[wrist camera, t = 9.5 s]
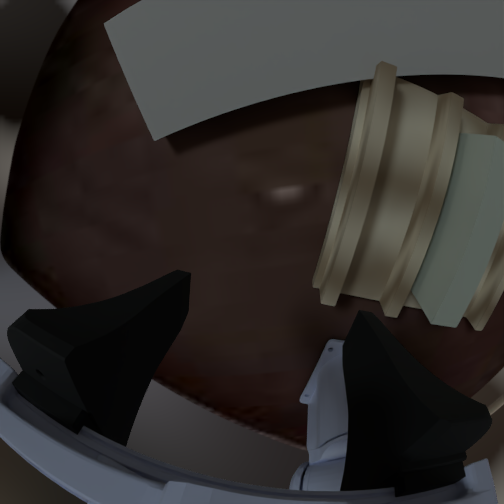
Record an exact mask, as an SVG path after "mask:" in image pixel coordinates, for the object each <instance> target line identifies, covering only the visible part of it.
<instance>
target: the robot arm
mask: <svg viewBox="0 0 504 504" xmlns="http://www.w3.org/2000/svg"><path fill="white" fill-rule="evenodd" d="M190 280H191V273H189V272H185V271H181V270H176V271H173V272H171V273H169V274H167V275H165V276H163V277H161V278H159V279H157V280H154V281H152V282H150V283H148V284H146V285H144V286H142V287H139V288H137V289H134V290H132V291H130V292H127V293H125V294H122V295H119V296H117V297H114V298H110V299H107V300H104V301H100V302H96V303H91V304H86V305H82V306H76V307H69V308H60V309H29V310H27V311H26V312H25V313H24V314H23V315H22V316H21V317H20V318H18V319H17V320H16V321H15V322H14V323H13V324H12V325H11V326H9V327H8V331H7V336H8V341H9V343H10V346H11V348H12V350H13V352H14V354H15V356H16V358H17V360H18V362H19V364H20V366H21V368H22V370H23V371H22V372H21V373H20V374H19V375H18V374H17V373H16V372H15V370H14V369H13V368H12V367H10V366H9V365H8V364H7V363H6V362H5V361H3V360H2V359H1V358H0V437H1V438H2V439H3V440H4V441H5V442H6V443H7V444H8V445H9V446H10V447H11V448H12V449H14V450H15V451H16V452H17V453H18V454H19V455H20V456H22V457H23V458H24V459H25V460H26V461H28V462H29V463H30V464H31V465H32V466H34V467H35V468H36V469H38V470H39V471H40V472H41V473H43V474H44V475H46V476H47V477H48V478H49V479H51V480H52V481H54V482H55V483H57V484H58V485H60V486H61V487H63V488H64V489H66V490H67V491H69V492H70V493H72V494H74V495H75V496H77V497H78V498H80V499H82V500H83V501H85V502H87V504H497V503H498V501H497V496H496V491H495V486H494V482H493V478H492V474H491V470H490V467H489V463H488V460H487V459H483V460H480V461H477V462H474V463H471V464H469V465H467V466H465V467H464V466H463V462H462V461H464V460H466V458H467V456H466V452H465V451H466V450H467V449H469V448H470V447H471V446H472V445H473V444H475V443H476V442H477V441H478V440H479V439H480V438H481V437H482V436H483V435H484V434H485V433H486V432H487V431H488V429H489V428H490V426H491V424H492V418H491V416H490V413H489V411H488V409H487V407H486V405H484V404H482V403H479V402H477V401H475V400H473V399H471V398H469V397H467V396H465V395H463V394H461V393H460V392H458V391H456V390H454V389H453V388H451V387H450V386H448V385H447V384H445V383H444V382H443V381H441V380H440V379H438V378H437V377H436V376H434V375H433V374H432V373H431V372H429V371H428V370H427V369H426V368H425V367H424V366H422V365H421V364H420V363H419V362H418V361H417V360H416V359H415V358H414V357H413V356H412V355H411V354H410V353H409V352H408V351H407V350H406V349H405V348H404V347H403V346H402V345H401V344H400V343H399V341H398V340H397V339H396V338H395V337H394V336H393V335H392V334H391V333H390V331H389V330H388V329H387V328H386V327H385V326H384V325H383V323H382V322H381V321H380V320H379V319H378V318H377V317H376V316H375V315H374V314H373V313H372V312H366V311H361V310H359V311H358V314H357V316H356V318H355V320H354V322H353V325H352V327H351V329H350V331H349V333H348V335H347V337H346V339H345V341H343V340H337V339H331V340H329V341H328V342H327V344H326V346H325V348H324V350H323V352H322V355H321V357H320V359H319V361H318V363H317V365H316V367H315V369H314V371H313V373H312V375H311V377H310V379H309V381H308V383H307V385H306V387H305V389H304V391H303V393H302V395H301V397H300V402H301V403H305V404H308V427H307V450H308V453H309V462H305V463H303V464H301V465H300V466H299V467H298V469H297V470H296V472H295V473H294V475H293V477H292V479H291V483H290V488H289V489H280V488H271V487H263V486H257V485H250V484H245V483H239V482H233V481H229V480H225V479H220V478H216V477H212V476H208V475H204V474H200V473H197V472H193V471H190V470H186V469H183V468H180V467H177V466H174V465H171V464H167V463H165V462H162V461H159V460H157V459H154V458H151V457H149V456H146V455H144V454H141V453H139V452H136V451H134V450H132V449H129V448H127V447H126V445H127V441H128V438H129V435H130V432H131V429H132V426H133V423H134V421H135V418H136V415H137V413H138V410H139V407H140V405H141V402H142V400H143V397H144V395H145V392H146V390H147V388H148V386H149V384H150V381H151V379H152V377H153V375H154V373H155V371H156V369H157V367H158V366H159V364H160V363H161V361H162V359H163V358H164V356H165V354H166V353H167V351H168V350H169V348H170V346H171V345H172V343H173V342H174V340H175V338H176V337H177V335H178V333H179V332H180V330H181V328H182V326H183V323H184V321H185V319H186V316H187V314H188V311H189V294H190ZM329 348H332V349H329Z"/></svg>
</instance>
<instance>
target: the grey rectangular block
mask: <svg viewBox="0 0 504 504" xmlns="http://www.w3.org/2000/svg"><path fill="white" fill-rule="evenodd" d="M104 26H105V28H106V31H107V33H108V36H109V38H110V41H111V43H112V46H113V48H114V51H115V53H116V55H117V58H118V60H119V63H120V65H121V67H122V70H123V72H124V75H125V77H126V79H127V82H128V84H129V86H130V88H131V91H132V93H133V95H134V98H135V100H136V102H137V104H138V107H139V109H140V111H141V113H142V115H143V118H144V120H145V122H146V124H147V126H148V129H149V131H150V133H151V135H152V137H153V139H154V141H156V140H158V139H160V138H162V137H165V136H167V135H169V134H172V133H174V132H176V131H179V130H181V129H183V128H186V127H188V126H191V125H193V124H196V123H199V122H201V121H204V120H207V119H209V118H212V117H215V116H218V115H220V114H223V113H226V112H229V111H232V110H235V109H238V108H241V107H245V106H248V105H251V104H254V103H258V102H261V101H265V100H268V99H272V98H276V97H279V96H283V95H287V94H291V93H296V92H300V91H304V90H309V89H313V88H318V87H323V86H328V85H334V84H340V83H346V82H352V81H359V80H366V79H373V78H374V74H375V69H376V65H377V64H378V63H380V62H381V61H384V62H386V63H389V64H392V65H394V66H397V72H396V76H408V75H432V74H453V75H477V76H489V77H499V78H504V0H142V1H140V2H138V3H136V4H135V5H133V6H131V7H129V8H128V9H126V10H124V11H123V12H121V13H120V14H118V15H116V16H115V17H113V18H112V19H110V20H109V21H107V22H106V23H104Z"/></svg>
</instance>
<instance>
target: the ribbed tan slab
mask: <svg viewBox="0 0 504 504" xmlns="http://www.w3.org/2000/svg"><path fill="white" fill-rule="evenodd" d="M396 72H397V66H394V65H392V64H389V63H386V62H384V61H381V62H380V63H378V64H377V65H376V69H375V74H374V78H373V79H366V80H360V86H359V92H358V98H357V104H356V109H355V114H354V120H353V125H352V130H351V134H350V139H349V144H348V149H347V153H346V158H345V162H344V166H343V171H342V175H341V179H340V183H339V187H338V191H337V195H336V199H335V203H334V207H333V211H332V215H331V218H330V222H329V226H328V229H327V233H326V236H325V240H324V243H323V247H322V250H321V254H320V257H319V260H318V264H317V267H316V270H315V274H314V277H313V280H312V283H313V287H314V288H319V290H320V298H321V304H326V305H331V306H335V305H336V302H337V300H338V297H339V294H340V293H343V294H348V295H352V296H357V297H362V298H367V299H372V300H377V301H380V304H381V306H382V309H383V311H384V313H385V316H389V317H395V318H397V317H398V315H399V313H400V311H401V309H402V307H403V306H408V307H413V308H419V309H422V308H421V306H420V304H419V303H418V301H417V299H416V298H415V296H414V295H413V293H412V291H411V287H412V285H413V283H414V281H415V278H416V276H417V274H418V271H419V269H420V267H421V264H422V262H423V259H424V257H425V254H426V251H427V249H428V246H429V244H430V241H431V238H432V235H433V232H434V229H435V227H436V224H437V221H438V217H439V214H440V211H441V208H442V205H443V201H444V198H445V194H446V191H447V187H448V183H449V179H450V175H451V171H452V167H453V162H454V158H455V153H456V148H457V143H458V137H459V133H468V134H482V135H492V136H497V137H498V138H500V139H501V140H502V141H504V124H488V123H486V122H485V121H483V120H482V119H480V118H478V117H477V116H475V115H473V114H472V113H470V112H468V111H467V110H465V109H463V101H464V98H462V97H460V96H458V95H456V94H455V93H453V92H450V93H446V94H441V95H437V94H435V93H433V92H431V91H428V90H426V89H424V88H422V87H420V86H417V85H415V84H413V83H410V82H408V81H406V80H403V79H401V78H398V77H396ZM503 290H504V221H503V224H502V227H501V230H500V233H499V236H498V239H497V242H496V244H495V247H494V250H493V252H492V255H491V257H490V260H489V262H488V265H487V267H486V269H485V272H484V274H483V276H482V278H481V281H480V283H479V285H478V287H477V289H476V291H475V293H474V295H473V297H472V299H471V301H470V303H469V305H468V307H467V309H466V311H465V313H464V314H463V317H466V318H467V319H468V320H469V322H470V323H471V325H472V326H473V327H474V329H475V330H480V331H482V329H483V328H484V326H485V324H486V322H487V321H488V319H489V317H490V315H491V314H492V312H493V310H494V308H495V306H496V304H497V302H498V300H499V298H500V296H501V294H502V292H503Z"/></svg>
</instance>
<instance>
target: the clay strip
mask: <svg viewBox="0 0 504 504" xmlns="http://www.w3.org/2000/svg"><path fill="white" fill-rule="evenodd" d="M503 221H504V141H502V140H501V139H500V138H498V137H497V136H492V135H482V134H468V133H459V137H458V143H457V148H456V153H455V158H454V162H453V167H452V171H451V175H450V179H449V183H448V187H447V191H446V194H445V198H444V201H443V205H442V208H441V211H440V214H439V217H438V221H437V224H436V227H435V229H434V232H433V235H432V238H431V241H430V244H429V246H428V249H427V251H426V254H425V257H424V259H423V262H422V264H421V267H420V269H419V271H418V274H417V276H416V278H415V281H414V283H413V285H412V287H411V291H412V293H413V295H414V296H415V298H416V299H417V301H418V303H419V304H420V306H421V308H422V309H423V311H424V313H425V315H426V316H427V318H428V320H429V321H430V323H431V324H435V325H442V326H449V327H457V325H458V323H459V322H460V320H461V318H462V316H463V314H464V313H465V311H466V309H467V307H468V305H469V303H470V301H471V299H472V297H473V295H474V293H475V291H476V289H477V287H478V285H479V283H480V281H481V278H482V276H483V274H484V272H485V269H486V267H487V265H488V262H489V260H490V257H491V255H492V252H493V250H494V247H495V244H496V242H497V239H498V236H499V233H500V230H501V227H502V224H503Z"/></svg>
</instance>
